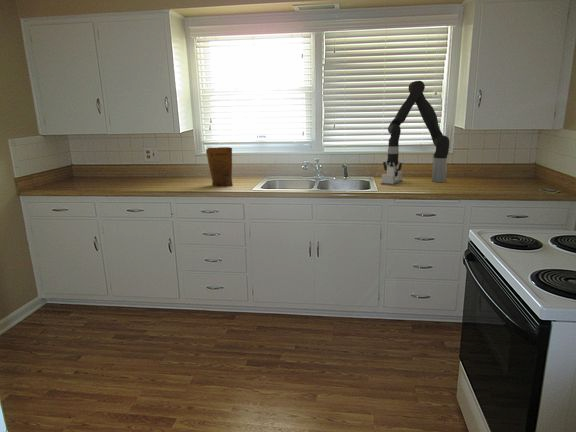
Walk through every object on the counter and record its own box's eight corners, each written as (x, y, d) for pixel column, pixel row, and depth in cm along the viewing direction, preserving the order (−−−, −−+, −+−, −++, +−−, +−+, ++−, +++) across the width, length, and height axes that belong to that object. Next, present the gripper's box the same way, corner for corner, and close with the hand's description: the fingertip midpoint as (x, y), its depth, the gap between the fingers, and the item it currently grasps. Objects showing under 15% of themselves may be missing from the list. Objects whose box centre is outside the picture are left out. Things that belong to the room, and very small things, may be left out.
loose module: (397, 178, 312) (398, 165, 309) (393, 180, 305) (393, 167, 302) (391, 177, 315) (391, 165, 312) (386, 179, 307) (386, 166, 305)
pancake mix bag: (232, 187, 306) (230, 147, 298) (207, 186, 311) (205, 147, 303) (235, 185, 312) (233, 146, 305) (211, 184, 317) (209, 146, 310)
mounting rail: (402, 181, 316) (403, 171, 314) (392, 185, 300) (393, 175, 298) (390, 180, 321) (391, 170, 319) (380, 184, 305) (380, 174, 303)
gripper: (404, 152, 304) (403, 176, 308) (385, 151, 312) (384, 174, 316) (401, 153, 298) (399, 178, 302) (381, 152, 306) (380, 176, 310)
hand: (392, 176), depth 309 cm, fingers closed on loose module, 5 cm apart
